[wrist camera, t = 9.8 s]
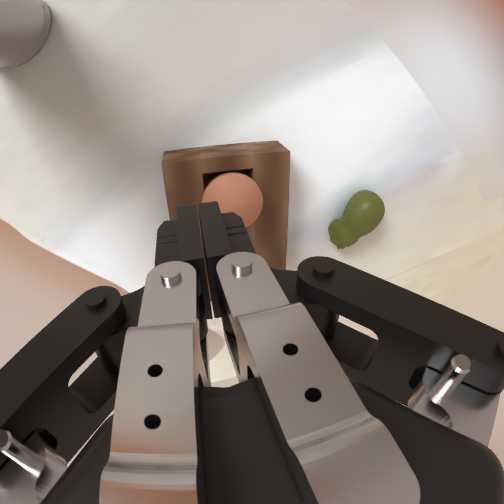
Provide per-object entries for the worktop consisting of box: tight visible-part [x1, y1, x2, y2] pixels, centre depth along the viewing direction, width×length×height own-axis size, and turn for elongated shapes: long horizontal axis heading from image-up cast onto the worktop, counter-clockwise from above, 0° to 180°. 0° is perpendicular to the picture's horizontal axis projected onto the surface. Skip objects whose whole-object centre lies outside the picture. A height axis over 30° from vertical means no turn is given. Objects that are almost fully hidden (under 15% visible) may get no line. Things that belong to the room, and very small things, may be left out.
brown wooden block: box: [162, 141, 290, 301], centre depth 40 cm, size 14×20×5 cm
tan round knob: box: [202, 170, 263, 227], centre depth 35 cm, size 6×6×6 cm
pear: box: [329, 190, 385, 249], centre depth 44 cm, size 6×5×10 cm
